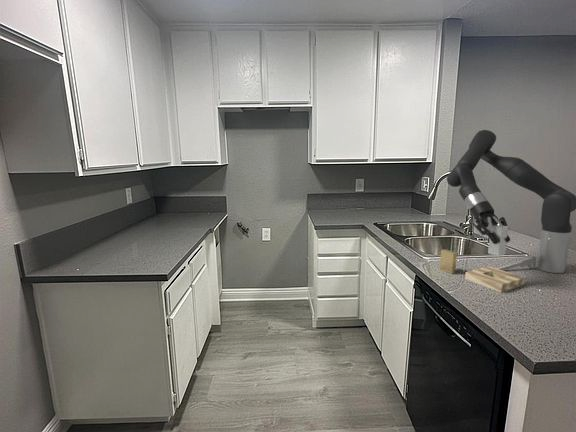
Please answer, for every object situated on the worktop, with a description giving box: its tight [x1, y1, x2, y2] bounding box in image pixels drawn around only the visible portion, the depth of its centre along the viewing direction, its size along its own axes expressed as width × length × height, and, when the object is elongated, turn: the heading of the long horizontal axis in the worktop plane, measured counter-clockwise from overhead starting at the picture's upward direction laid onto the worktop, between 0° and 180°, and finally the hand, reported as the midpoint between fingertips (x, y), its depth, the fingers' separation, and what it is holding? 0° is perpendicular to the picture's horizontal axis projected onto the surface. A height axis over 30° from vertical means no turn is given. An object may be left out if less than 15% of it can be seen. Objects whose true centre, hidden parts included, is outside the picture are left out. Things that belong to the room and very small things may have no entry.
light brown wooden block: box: [439, 249, 458, 275], centre depth 131 cm, size 2×6×9 cm, turn 24°
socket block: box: [464, 265, 526, 293], centre depth 120 cm, size 14×14×3 cm
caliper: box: [496, 254, 537, 271], centre depth 131 cm, size 20×1×6 cm, turn 99°
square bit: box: [487, 224, 509, 257], centre depth 117 cm, size 4×4×11 cm
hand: (502, 242), depth 115 cm, fingers closed on square bit, 4 cm apart
